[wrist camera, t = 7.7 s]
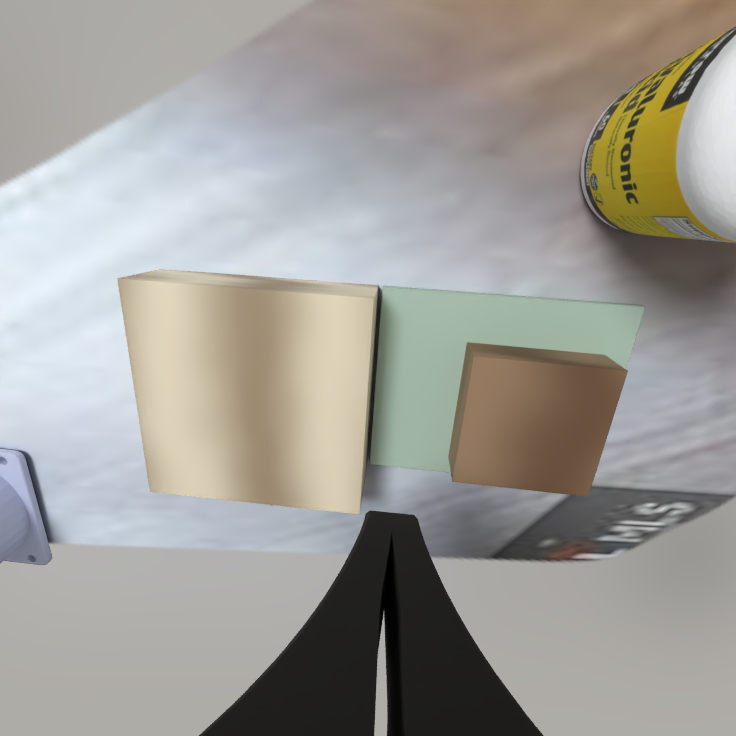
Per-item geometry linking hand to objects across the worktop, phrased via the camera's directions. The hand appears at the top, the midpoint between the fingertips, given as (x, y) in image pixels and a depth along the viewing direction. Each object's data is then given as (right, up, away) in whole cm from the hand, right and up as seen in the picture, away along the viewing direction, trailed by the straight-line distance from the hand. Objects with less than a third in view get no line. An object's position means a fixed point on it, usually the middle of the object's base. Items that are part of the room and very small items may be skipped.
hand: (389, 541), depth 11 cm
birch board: (-5, +4, +9) cm, 11 cm away
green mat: (+5, +4, +8) cm, 10 cm away
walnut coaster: (+6, +2, +6) cm, 9 cm away
